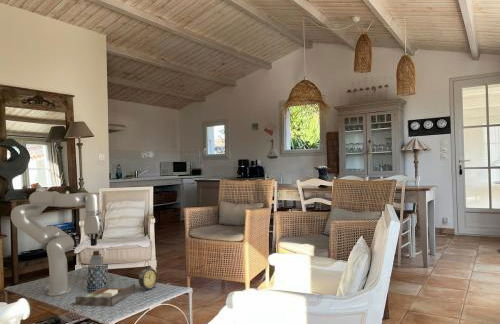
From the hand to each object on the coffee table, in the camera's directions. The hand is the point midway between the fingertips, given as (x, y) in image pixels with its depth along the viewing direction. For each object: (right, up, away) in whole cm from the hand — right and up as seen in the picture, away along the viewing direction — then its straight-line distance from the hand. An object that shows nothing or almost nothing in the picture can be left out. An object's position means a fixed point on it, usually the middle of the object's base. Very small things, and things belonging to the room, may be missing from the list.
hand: (93, 245), depth 223 cm
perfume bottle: (-9, -28, +27) cm, 40 cm away
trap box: (+13, -26, -13) cm, 32 cm away
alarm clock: (+32, -25, -2) cm, 41 cm away
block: (+18, -24, -21) cm, 36 cm away
